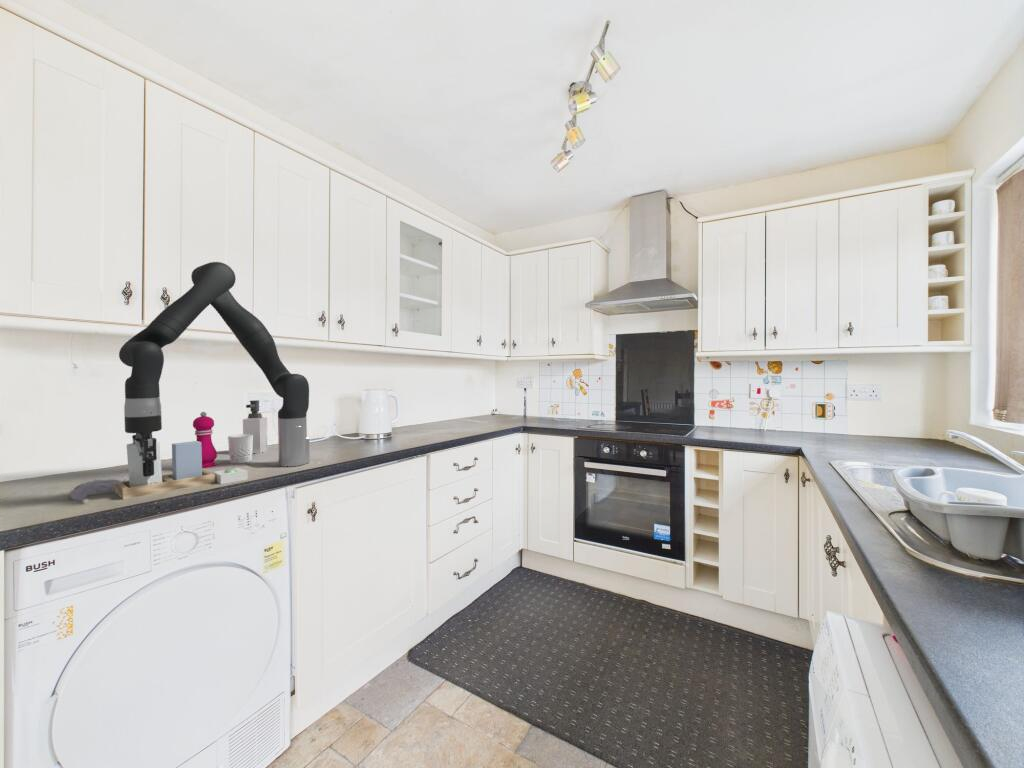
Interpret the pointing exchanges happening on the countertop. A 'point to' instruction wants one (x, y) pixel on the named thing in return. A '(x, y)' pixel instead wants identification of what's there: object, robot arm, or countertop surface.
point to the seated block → (186, 460)
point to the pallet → (163, 485)
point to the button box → (230, 476)
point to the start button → (229, 470)
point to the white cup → (240, 448)
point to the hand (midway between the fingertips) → (145, 473)
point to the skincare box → (137, 467)
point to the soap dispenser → (256, 427)
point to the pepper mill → (205, 439)
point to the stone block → (95, 487)
